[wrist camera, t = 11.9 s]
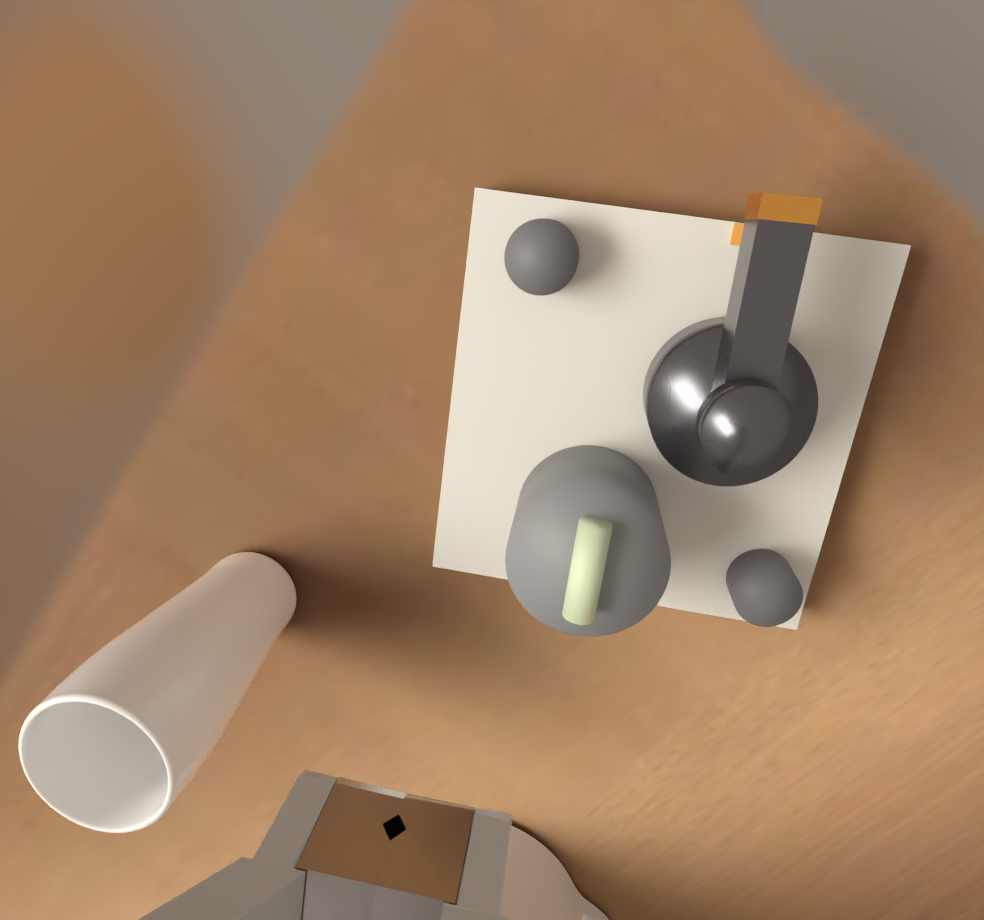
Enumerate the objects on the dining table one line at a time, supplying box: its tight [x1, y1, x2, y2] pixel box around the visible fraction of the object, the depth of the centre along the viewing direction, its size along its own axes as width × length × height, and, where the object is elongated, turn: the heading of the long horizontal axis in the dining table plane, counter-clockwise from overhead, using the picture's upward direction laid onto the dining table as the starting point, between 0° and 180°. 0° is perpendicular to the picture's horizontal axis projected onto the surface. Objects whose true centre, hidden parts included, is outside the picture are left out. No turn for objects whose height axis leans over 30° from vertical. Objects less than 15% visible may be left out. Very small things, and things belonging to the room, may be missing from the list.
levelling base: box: [432, 188, 911, 636], centre depth 33 cm, size 19×19×9 cm
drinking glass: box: [19, 552, 297, 833], centre depth 36 cm, size 7×7×15 cm
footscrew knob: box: [643, 193, 823, 487], centre depth 30 cm, size 12×7×7 cm, turn 174°
